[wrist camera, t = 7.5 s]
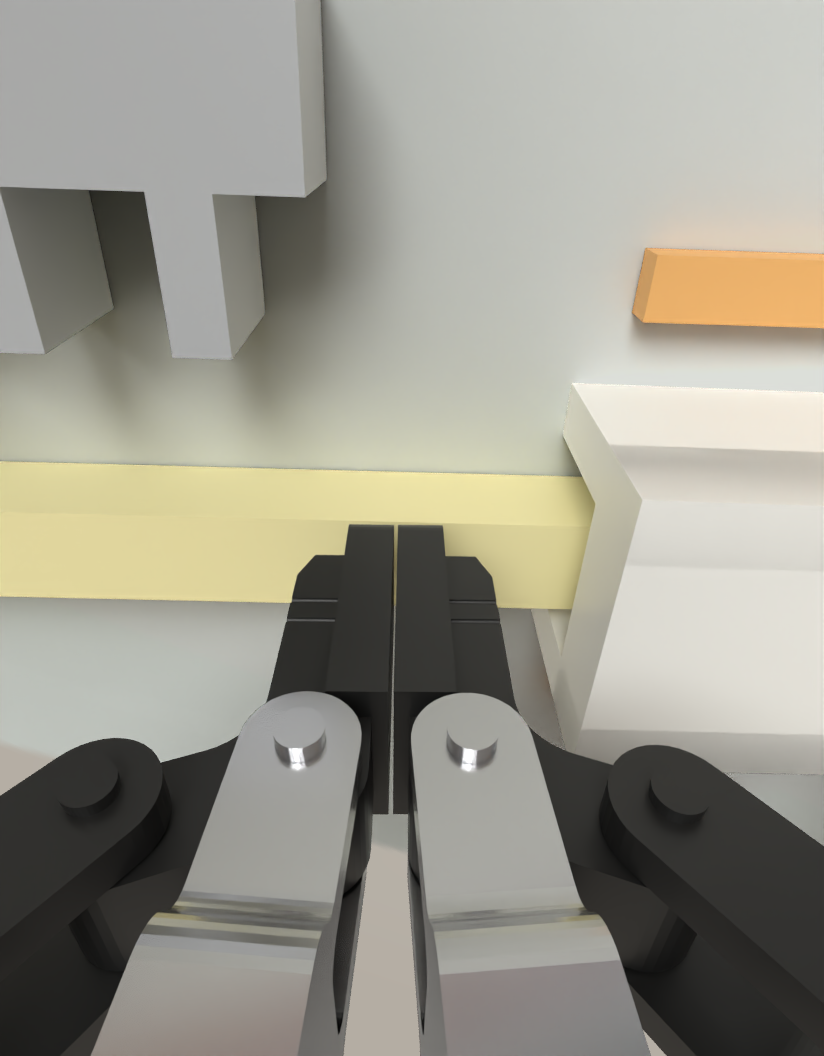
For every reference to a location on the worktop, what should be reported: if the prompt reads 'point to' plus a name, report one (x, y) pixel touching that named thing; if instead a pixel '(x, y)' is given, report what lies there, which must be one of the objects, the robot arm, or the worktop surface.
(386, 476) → the yellow block
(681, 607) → the sleeve
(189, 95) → the comb
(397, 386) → the worktop surface
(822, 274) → the orange parallel strips
